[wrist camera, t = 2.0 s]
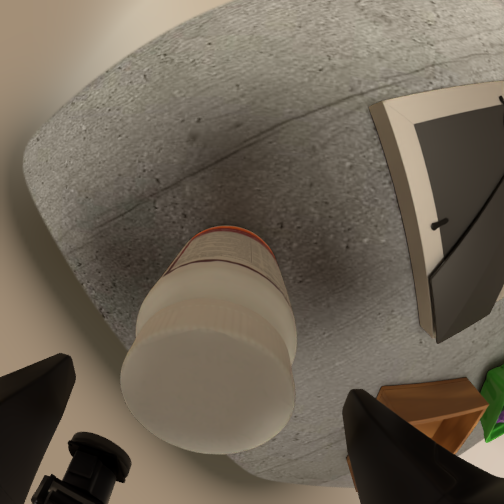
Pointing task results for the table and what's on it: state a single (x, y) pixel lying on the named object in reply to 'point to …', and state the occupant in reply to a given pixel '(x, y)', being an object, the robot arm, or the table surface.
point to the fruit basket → (493, 404)
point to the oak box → (436, 410)
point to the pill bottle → (214, 347)
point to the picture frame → (449, 198)
